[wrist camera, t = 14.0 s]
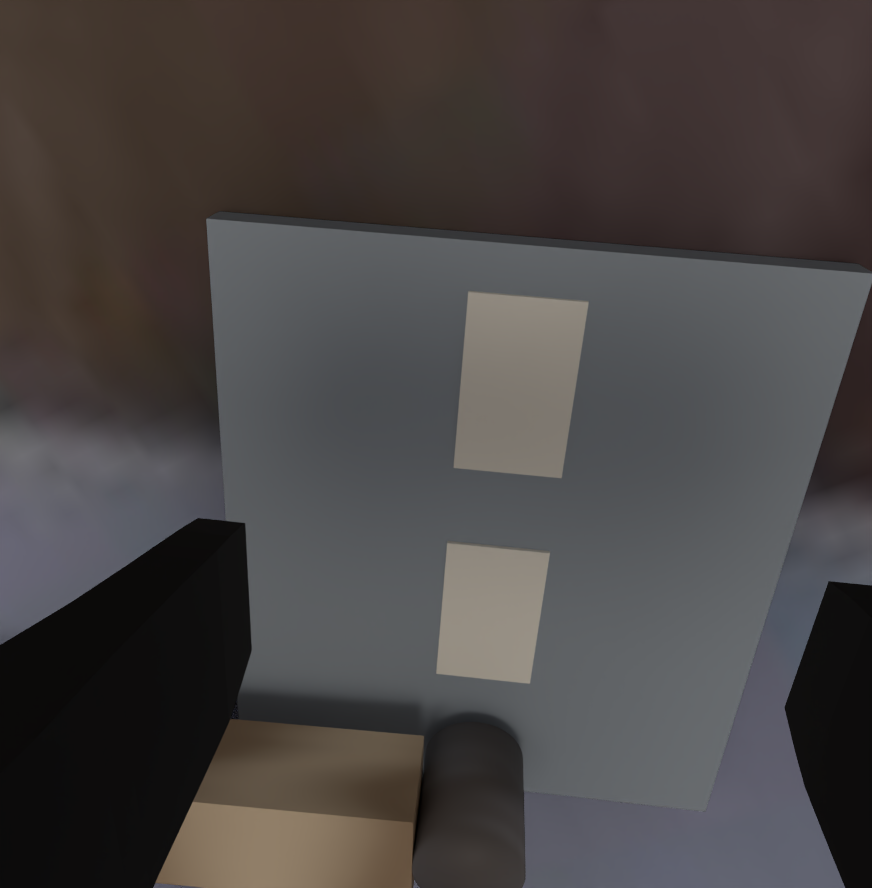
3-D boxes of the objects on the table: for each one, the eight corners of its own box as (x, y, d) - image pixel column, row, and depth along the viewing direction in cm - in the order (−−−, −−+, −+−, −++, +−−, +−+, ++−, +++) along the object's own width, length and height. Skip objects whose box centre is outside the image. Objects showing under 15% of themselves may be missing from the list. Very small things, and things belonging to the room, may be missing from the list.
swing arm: (527, 720, 20) (530, 833, 17) (518, 801, 22) (520, 919, 19) (-56, 670, 21) (-146, 769, 18) (-30, 751, 23) (-110, 856, 20)
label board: (698, 787, 23) (705, 814, 22) (249, 737, 23) (240, 761, 22) (858, 263, 16) (876, 274, 15) (219, 211, 16) (204, 219, 16)
